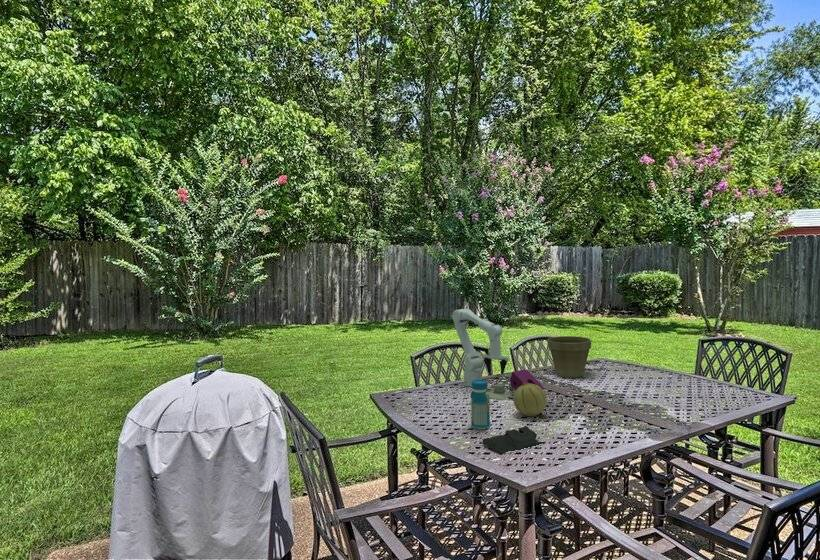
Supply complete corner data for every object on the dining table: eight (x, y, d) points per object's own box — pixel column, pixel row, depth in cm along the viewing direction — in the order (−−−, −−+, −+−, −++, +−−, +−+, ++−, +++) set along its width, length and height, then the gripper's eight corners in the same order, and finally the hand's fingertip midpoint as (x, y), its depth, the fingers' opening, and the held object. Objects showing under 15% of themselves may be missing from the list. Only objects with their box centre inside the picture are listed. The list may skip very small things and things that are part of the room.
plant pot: (545, 370, 307) (544, 335, 306) (586, 369, 304) (586, 335, 302) (551, 380, 282) (550, 343, 281) (596, 380, 279) (595, 342, 278)
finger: (493, 394, 255) (493, 385, 255) (496, 392, 258) (496, 383, 258) (501, 396, 252) (501, 386, 252) (504, 394, 255) (504, 384, 255)
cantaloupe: (550, 420, 218) (549, 387, 217) (516, 421, 219) (515, 387, 218) (542, 409, 233) (542, 378, 232) (511, 410, 234) (510, 379, 233)
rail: (471, 395, 260) (471, 383, 259) (479, 391, 267) (478, 379, 267) (503, 400, 249) (502, 388, 249) (510, 395, 257) (509, 383, 256)
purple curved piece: (542, 402, 263) (521, 381, 277) (546, 390, 259) (525, 369, 273) (528, 405, 258) (508, 383, 272) (533, 392, 255) (512, 371, 268)
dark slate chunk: (476, 443, 197) (476, 432, 196) (520, 432, 206) (520, 421, 206) (500, 457, 183) (499, 445, 183) (546, 445, 193) (545, 433, 192)
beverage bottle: (477, 431, 208) (476, 384, 207) (467, 425, 216) (466, 380, 215) (494, 427, 212) (493, 382, 210) (483, 421, 219) (482, 377, 218)
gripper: (479, 348, 265) (480, 372, 266) (504, 350, 257) (505, 376, 258) (485, 345, 271) (486, 370, 272) (510, 348, 263) (510, 373, 264)
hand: (495, 372), depth 265 cm, fingers open, 7 cm apart
